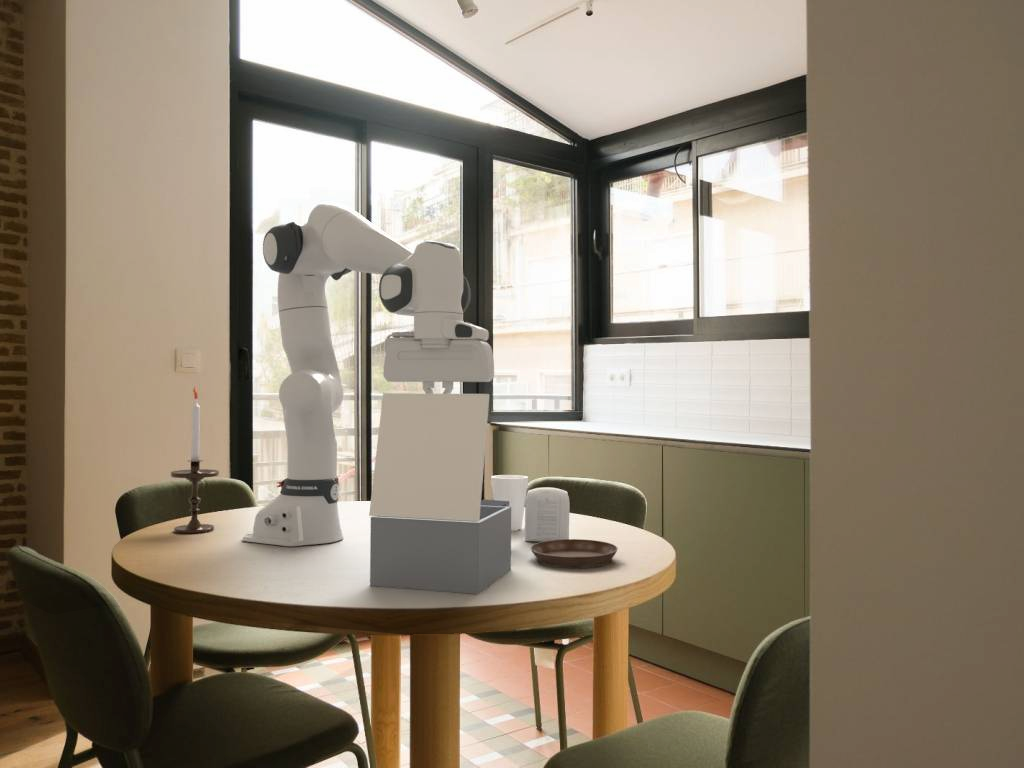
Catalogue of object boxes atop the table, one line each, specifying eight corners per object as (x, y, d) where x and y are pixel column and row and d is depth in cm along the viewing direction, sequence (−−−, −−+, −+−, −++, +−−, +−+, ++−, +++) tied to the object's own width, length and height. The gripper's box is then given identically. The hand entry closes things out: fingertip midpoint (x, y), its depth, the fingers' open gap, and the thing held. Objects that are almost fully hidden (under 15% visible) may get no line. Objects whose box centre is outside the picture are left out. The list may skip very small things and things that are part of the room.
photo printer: (569, 540, 184) (569, 486, 184) (569, 543, 180) (569, 488, 180) (525, 539, 185) (525, 486, 185) (524, 542, 180) (524, 488, 181)
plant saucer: (554, 574, 150) (554, 558, 150) (516, 556, 166) (516, 542, 166) (634, 566, 157) (634, 551, 157) (590, 550, 173) (590, 536, 173)
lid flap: (370, 515, 139) (369, 515, 138) (384, 393, 144) (383, 393, 143) (479, 521, 133) (478, 521, 133) (489, 394, 139) (488, 393, 138)
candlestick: (161, 531, 192) (163, 386, 192) (204, 525, 200) (205, 387, 201) (183, 536, 185) (185, 386, 185) (226, 530, 193) (228, 387, 194)
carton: (370, 585, 138) (370, 517, 139) (414, 562, 158) (414, 502, 158) (478, 594, 133) (479, 522, 133) (510, 569, 152) (511, 506, 152)
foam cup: (527, 531, 194) (528, 478, 195) (490, 531, 194) (490, 478, 195) (527, 525, 204) (527, 475, 204) (491, 525, 204) (491, 474, 204)
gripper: (377, 330, 142) (377, 407, 142) (486, 328, 136) (486, 408, 136) (392, 332, 148) (391, 406, 148) (497, 331, 143) (496, 407, 142)
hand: (438, 407), depth 142 cm, fingers closed, pressing on lid flap
